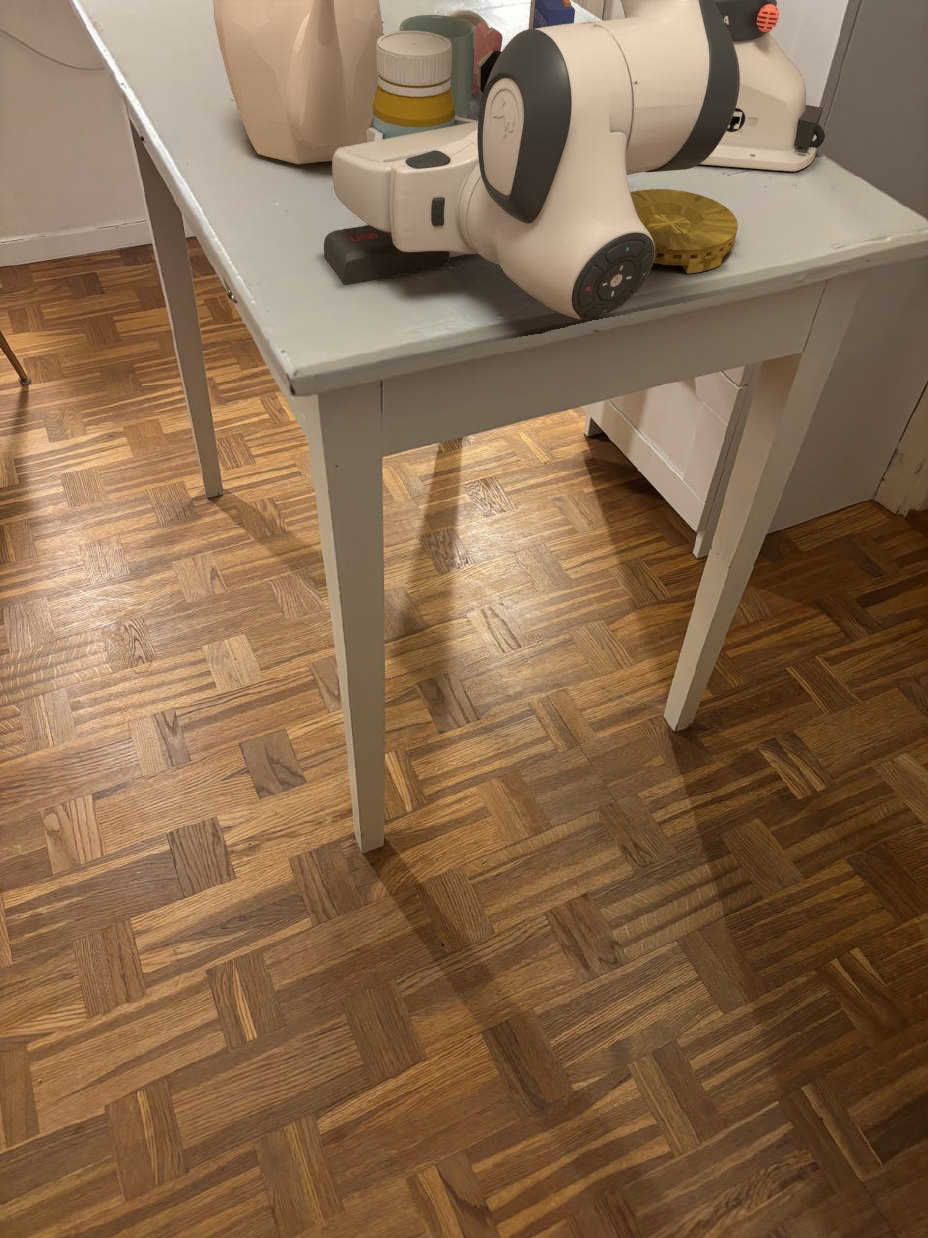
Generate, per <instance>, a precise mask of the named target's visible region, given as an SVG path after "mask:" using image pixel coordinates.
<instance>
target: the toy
mask: <svg viewBox="0 0 928 1238" xmlns="http://www.w3.org/2000/svg"><path fill="white" fill-rule="evenodd" d="M446 16H452V17H457V18H461V19H464V20H467V21H469V22H471V23H472V24H473V26H474V28H475V57H474V76H473V88H472V95H474V96H476V94H477V93H479V91H480V93H482V94H483V93H484V90H485V87H486V84H487V81H488V78H489V76H490V73H491V71H492V69H493V66H494V64H495V62H496V61H497V59H498V57H499V55H500V54H501V52H502V45H503V38H504V37H503V35H502V33H501V31H499V30H497V29H495V28H494V27H493V26H491V27H489V24H488V22H487V20H486V19H484V18H483V17H482V16H481V15H480V14H479V13H477V12H475V11H473V10H470V9H457V10H454V11H451V12H449V13H448V14H447V15H446Z"/></svg>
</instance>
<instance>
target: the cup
mask: <svg viewBox="0 0 928 1238" xmlns="http://www.w3.org/2000/svg"><path fill="white" fill-rule="evenodd" d="M398 29H399V30H398V31H423V32H430V33H434V34H438V35H441V36H443V37H445V38H447V39H448V40H449V41H450V42H451V46H452V68H451V74H450V76H451V86H450V89H451V92H452V96H453V99H454V103H455V115H457V116H458V117H460V118H466V119H468V115H469V112H470V107H471V104H472V103H471V102H472V95H473V92H472V88H473V76H474V57H475V28H474V26H473V24H472V23H471V22H469V21H467V20H464V19H461V18H457V17H452V16H447V15H443V14H442V15H440V14H421V15H420V14H419V15H415V16H414V15H413V16H410V17H408V18H406V19H404V20H403V21H401V23H400V25H399V28H398Z"/></svg>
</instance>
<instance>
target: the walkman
mask: <svg viewBox="0 0 928 1238" xmlns="http://www.w3.org/2000/svg"><path fill="white" fill-rule="evenodd" d="M529 4H530V5H529V17H528V29H537V28H542V27H549V26H556V25H563V24H571V23H575V16H576V9H575V7H574V6H573V5H572V1H570V0H530V3H529Z"/></svg>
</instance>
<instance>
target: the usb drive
mask: <svg viewBox="0 0 928 1238" xmlns="http://www.w3.org/2000/svg"><path fill="white" fill-rule="evenodd" d="M465 255H467V254H466V253H459V252H451V251H423V252H404V251H401V250H399V249H398V248H396V247H395V246H394V244H393V241H392V235H391V232H385V231H381V230H378V229H376V228H374V227H372V226H370V225H368V224H366V225H360V226H355V227H348V228H342V229H338V230H337V229H336V230H333V231H331V232H329V233H328V234H327V235H326V236H325V237H324V240H323V256H324V258H325V259H326V261H327V263H329V265H330V266H331V268H332V270H333V271H334V272H335V274H336V275H337V276H338V277H339V279H340V280H341V282H342V284H344V285H352V284H357V283H363V282H368V281H373V280H380V279H385V278H391V277H396V276H401V275H406V274H413V273H419V272H423V271H429V270H434V269H439V268H441V267H443V266H445V265H447V264H449V263H450V258H453V257H459V256H465Z"/></svg>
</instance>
